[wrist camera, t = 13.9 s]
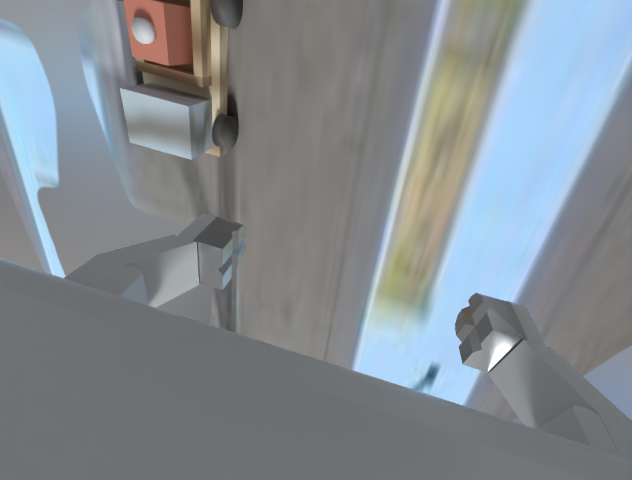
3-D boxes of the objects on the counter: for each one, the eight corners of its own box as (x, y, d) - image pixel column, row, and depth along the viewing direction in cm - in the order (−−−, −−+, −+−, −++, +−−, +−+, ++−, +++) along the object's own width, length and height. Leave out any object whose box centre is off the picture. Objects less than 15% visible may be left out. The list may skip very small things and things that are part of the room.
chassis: (122, -66, 30) (59, -91, 24) (244, -38, 29) (208, -57, 24) (150, 130, 42) (112, 144, 36) (237, 155, 41) (212, 173, 35)
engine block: (158, -1, 31) (115, -9, 26) (193, 8, 31) (157, 2, 26) (163, 54, 34) (126, 56, 29) (196, 62, 33) (163, 66, 29)
